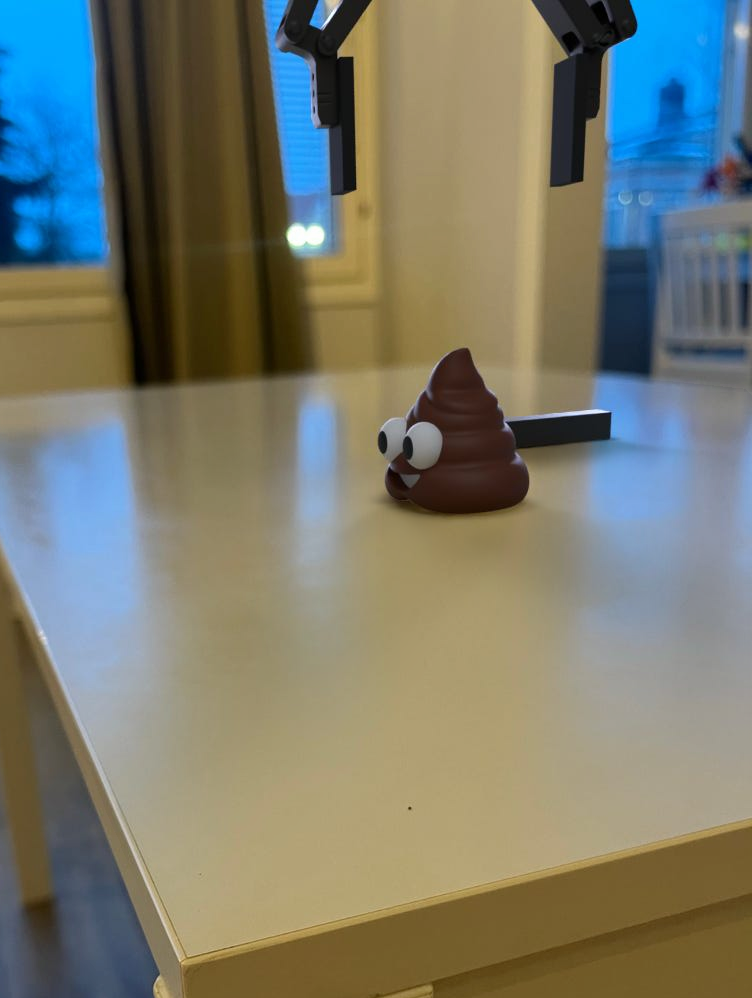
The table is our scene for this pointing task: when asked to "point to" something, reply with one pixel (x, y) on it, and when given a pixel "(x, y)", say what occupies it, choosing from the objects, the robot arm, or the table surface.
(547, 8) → the robot arm
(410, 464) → the poop emoji
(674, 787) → the table surface
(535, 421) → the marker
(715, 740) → the table surface
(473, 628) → the table surface
